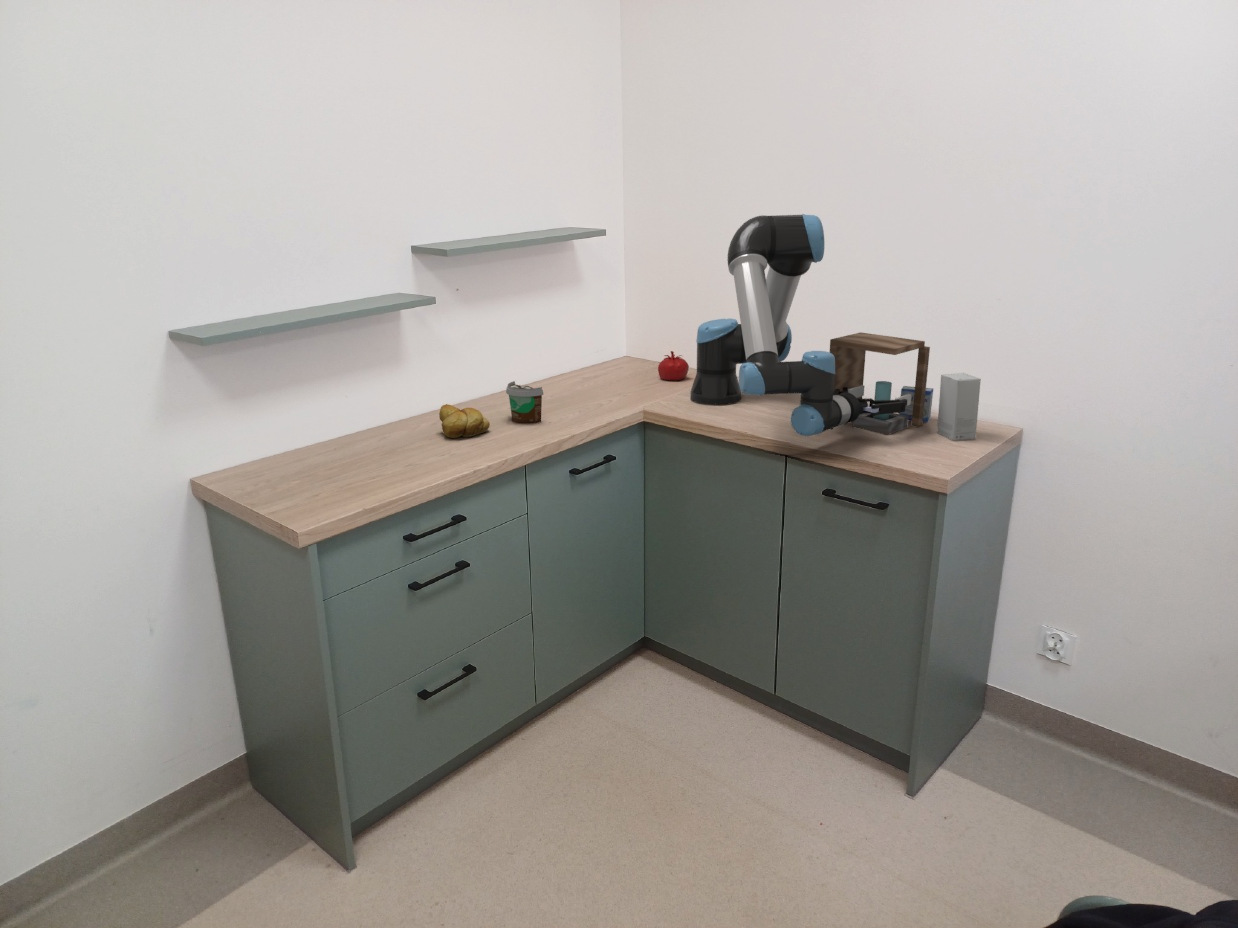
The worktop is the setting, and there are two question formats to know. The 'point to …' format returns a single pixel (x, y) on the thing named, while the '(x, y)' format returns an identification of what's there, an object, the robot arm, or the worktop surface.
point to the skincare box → (958, 406)
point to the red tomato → (673, 368)
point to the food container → (525, 403)
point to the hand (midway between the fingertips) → (885, 394)
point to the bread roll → (462, 421)
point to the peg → (882, 396)
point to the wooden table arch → (851, 374)
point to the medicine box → (909, 408)
